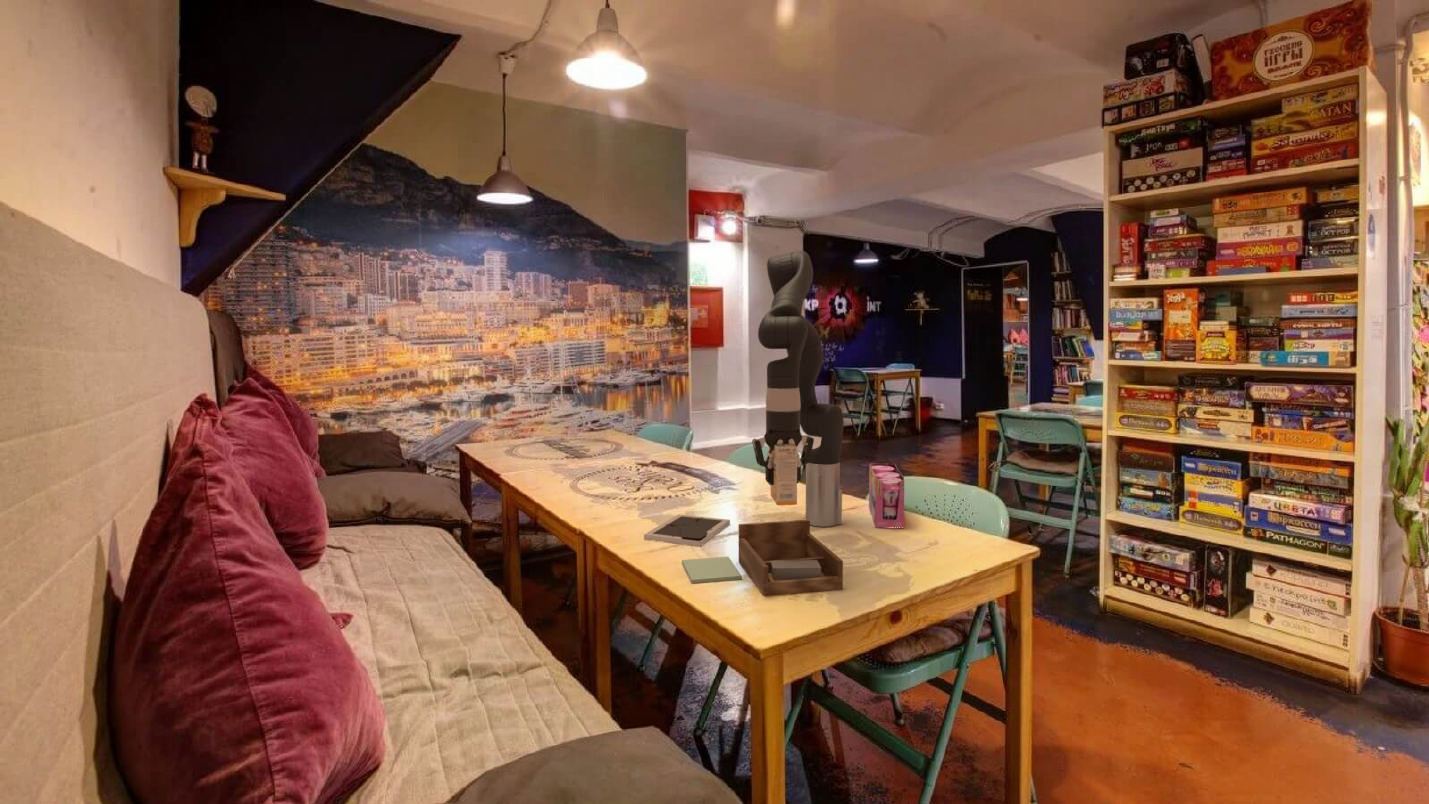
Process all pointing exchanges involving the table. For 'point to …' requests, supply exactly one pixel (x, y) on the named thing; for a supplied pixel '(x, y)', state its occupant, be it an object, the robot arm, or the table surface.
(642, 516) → the table surface
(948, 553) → the table surface
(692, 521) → the picture frame
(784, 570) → the upper offcut
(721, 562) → the pad
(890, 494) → the gum box
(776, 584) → the rack
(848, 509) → the table surface
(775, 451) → the supplement box
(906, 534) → the table surface
